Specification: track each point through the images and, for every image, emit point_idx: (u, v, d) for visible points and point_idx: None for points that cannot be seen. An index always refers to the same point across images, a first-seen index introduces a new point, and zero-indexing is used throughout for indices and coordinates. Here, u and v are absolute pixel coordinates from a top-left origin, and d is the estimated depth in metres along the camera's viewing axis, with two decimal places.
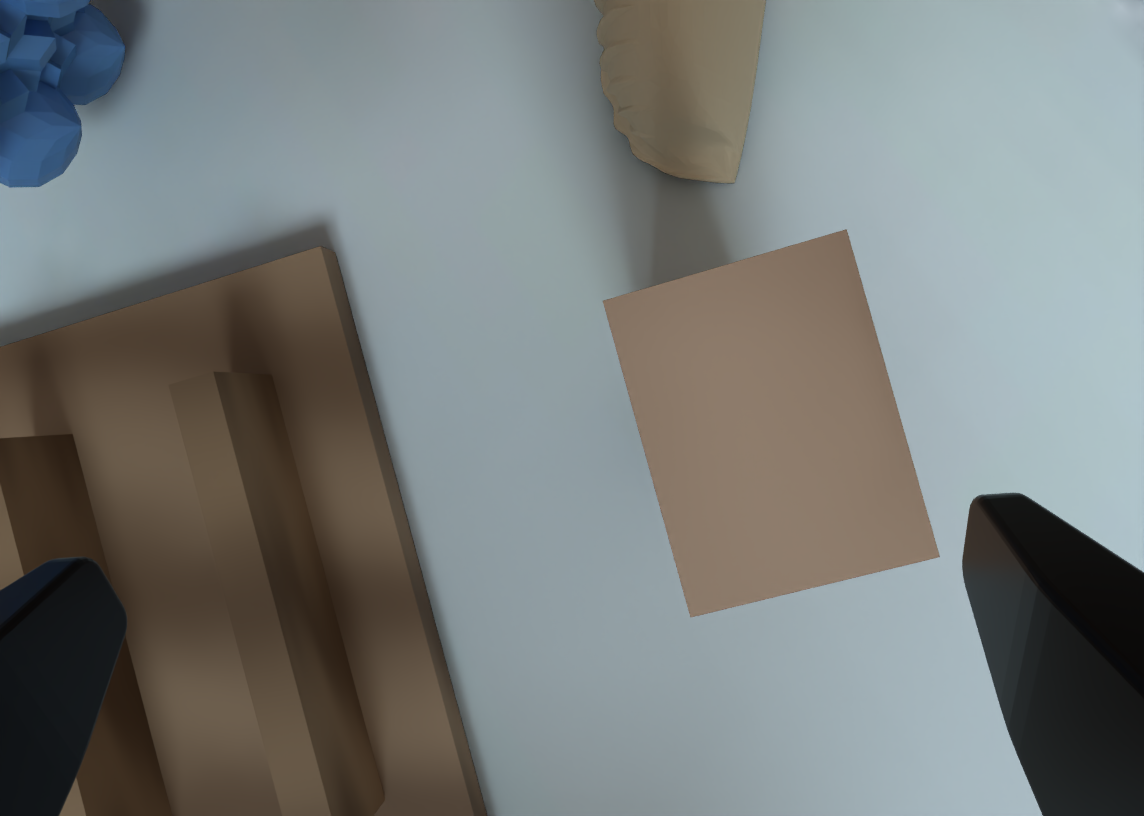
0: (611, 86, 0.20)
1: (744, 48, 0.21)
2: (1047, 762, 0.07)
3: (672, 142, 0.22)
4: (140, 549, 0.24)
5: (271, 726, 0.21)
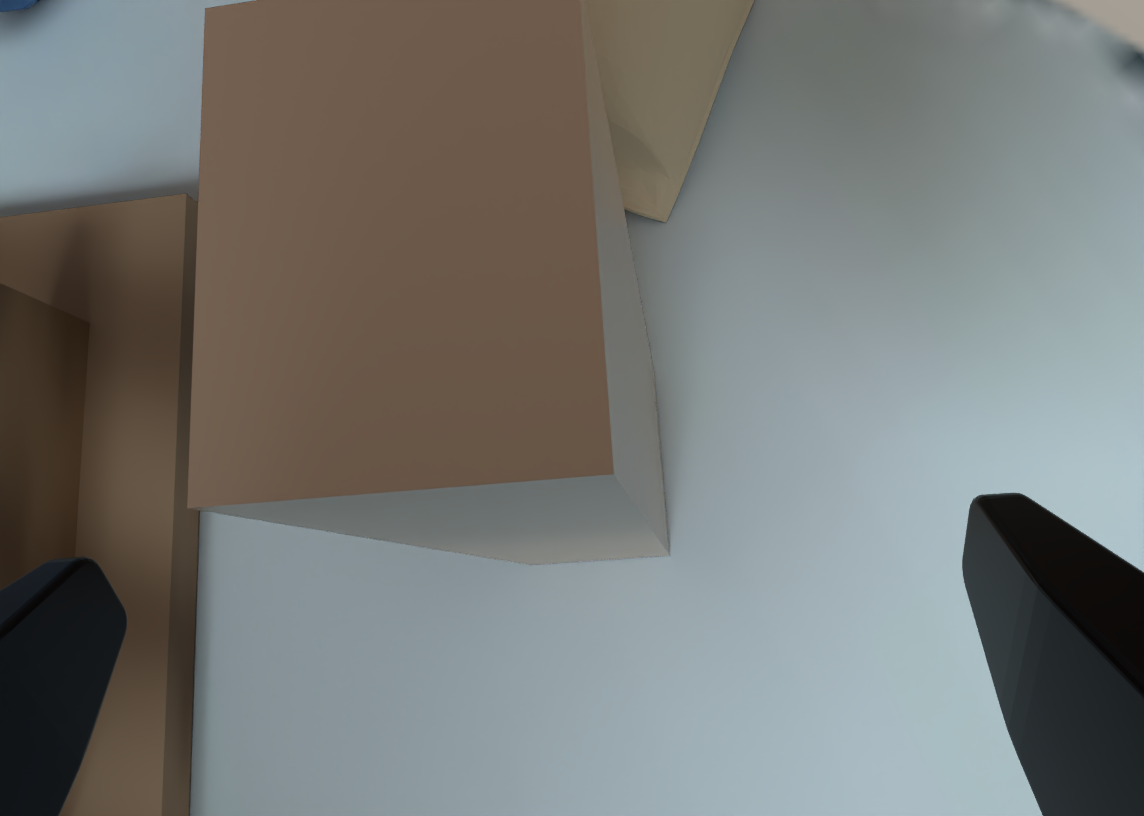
0: None
1: (692, 60, 0.18)
2: (1047, 762, 0.07)
3: None
4: None
5: None
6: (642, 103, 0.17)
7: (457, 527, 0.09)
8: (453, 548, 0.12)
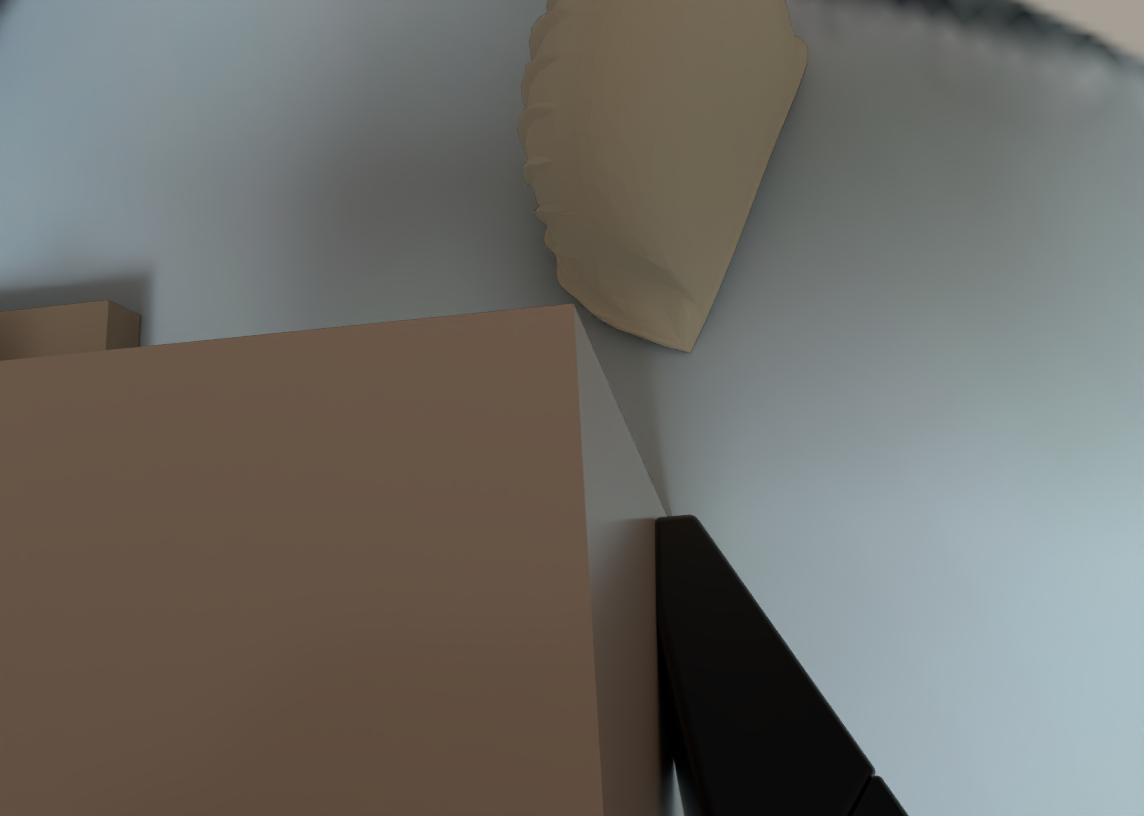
0: (523, 171, 0.14)
1: (729, 167, 0.14)
2: (678, 773, 0.07)
3: (604, 273, 0.15)
4: None
5: None
6: (666, 228, 0.14)
7: None
8: None
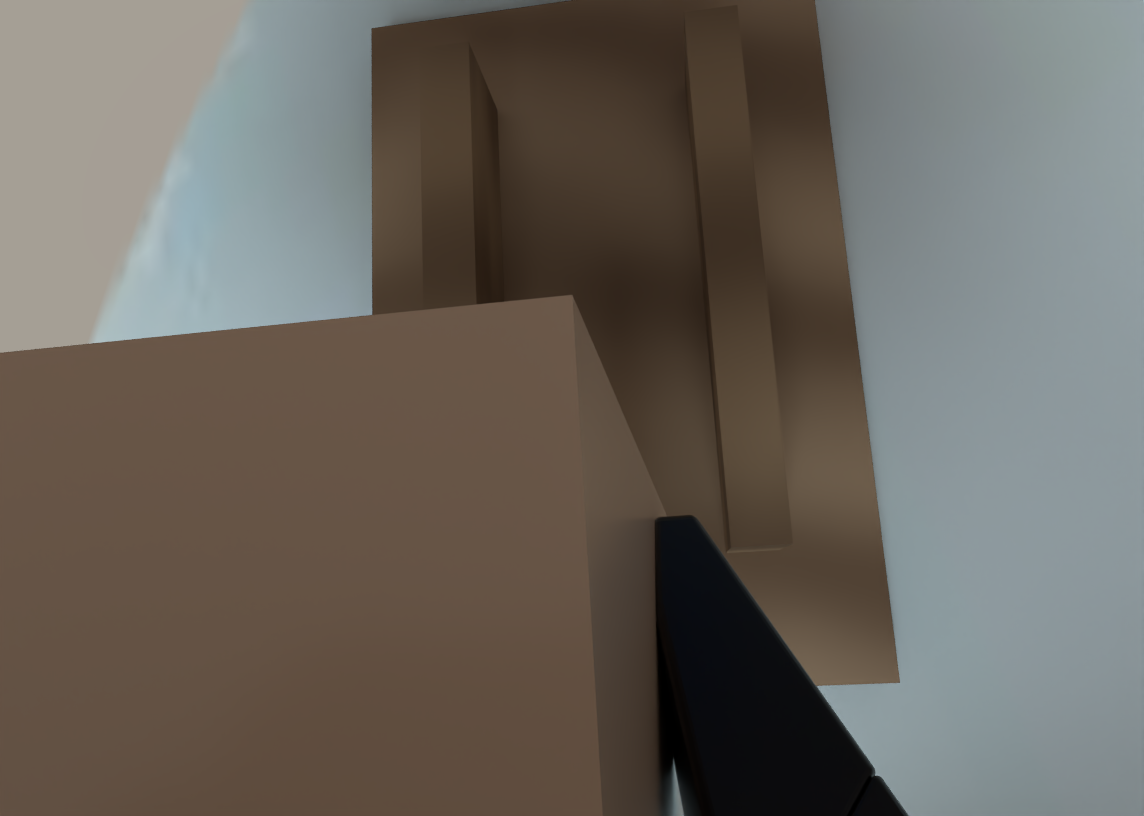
0: None
1: None
2: (678, 774, 0.07)
3: None
4: (544, 233, 0.22)
5: (731, 379, 0.18)
6: None
7: None
8: None
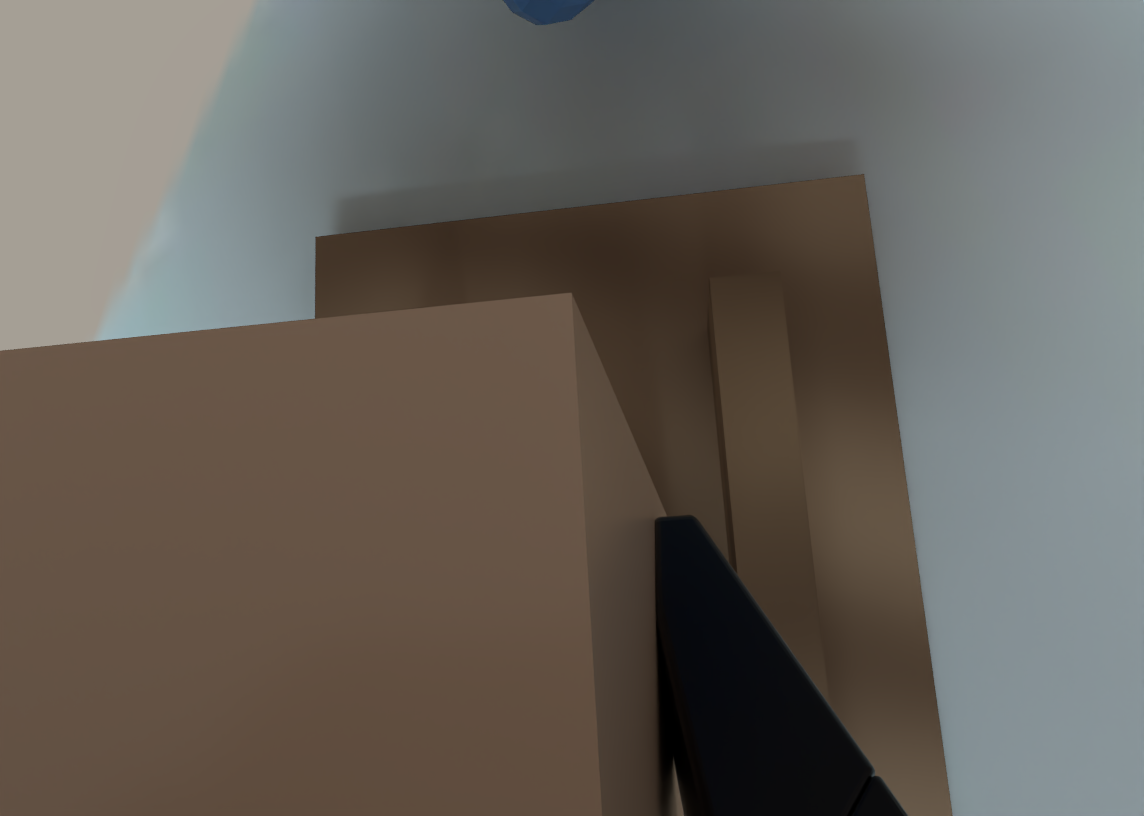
0: None
1: None
2: (678, 773, 0.07)
3: None
4: None
5: None
6: None
7: None
8: None
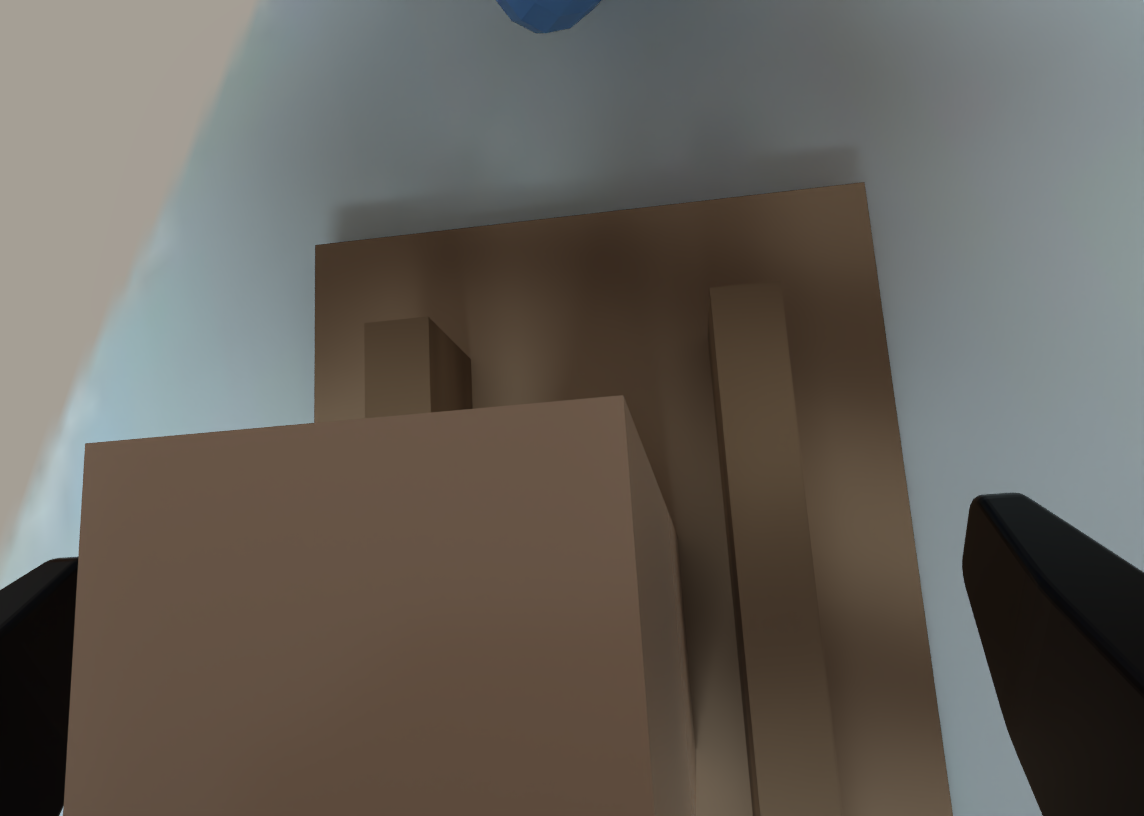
0: None
1: None
2: (1047, 762, 0.07)
3: None
4: None
5: None
6: None
7: None
8: None
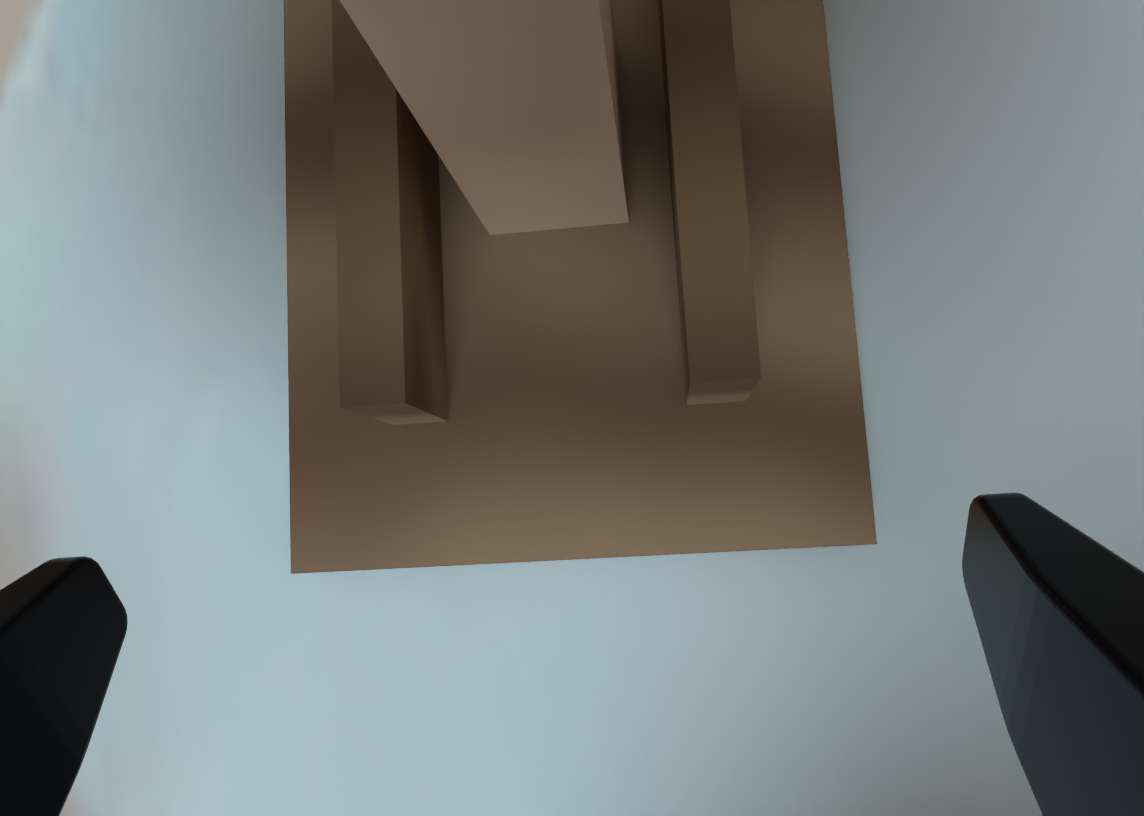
0: None
1: None
2: (1047, 762, 0.07)
3: None
4: None
5: (693, 190, 0.15)
6: None
7: None
8: (401, 68, 0.12)
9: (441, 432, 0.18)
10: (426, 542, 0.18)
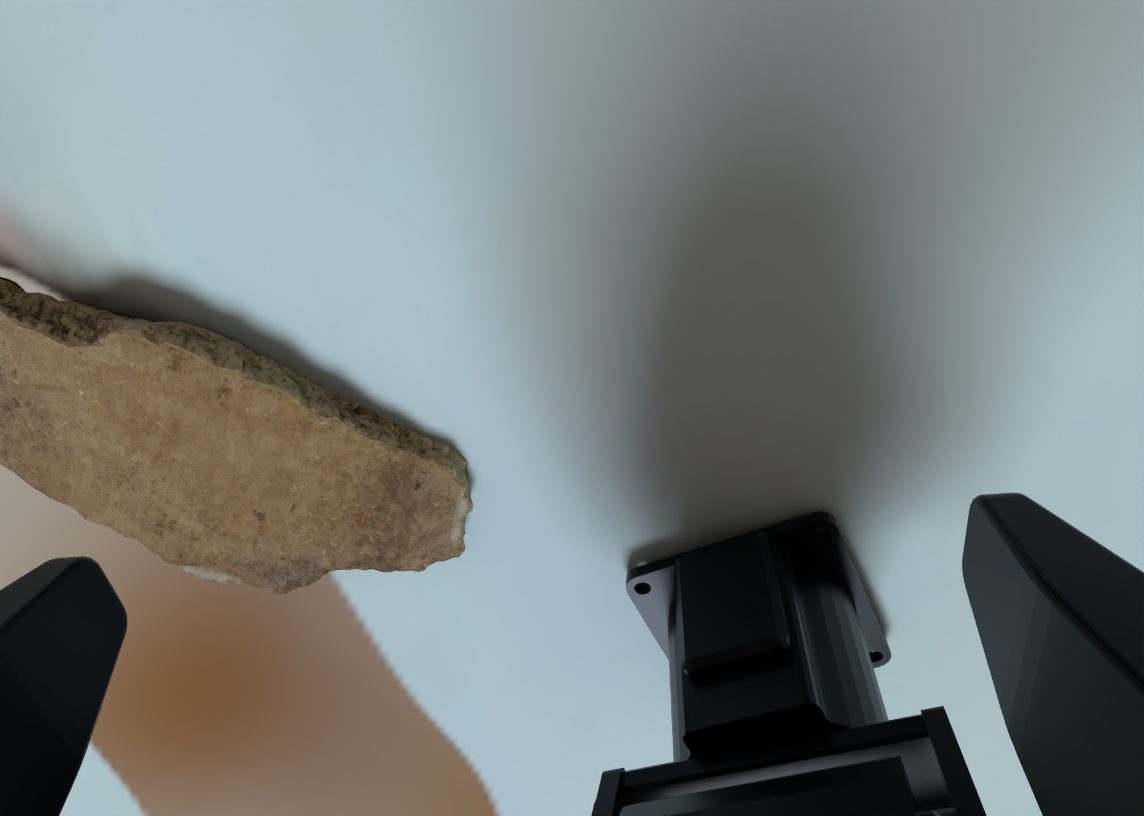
0: None
1: None
2: (1047, 762, 0.07)
3: None
4: None
5: None
6: None
7: None
8: None
9: None
10: None
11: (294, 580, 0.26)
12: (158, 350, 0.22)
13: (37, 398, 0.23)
